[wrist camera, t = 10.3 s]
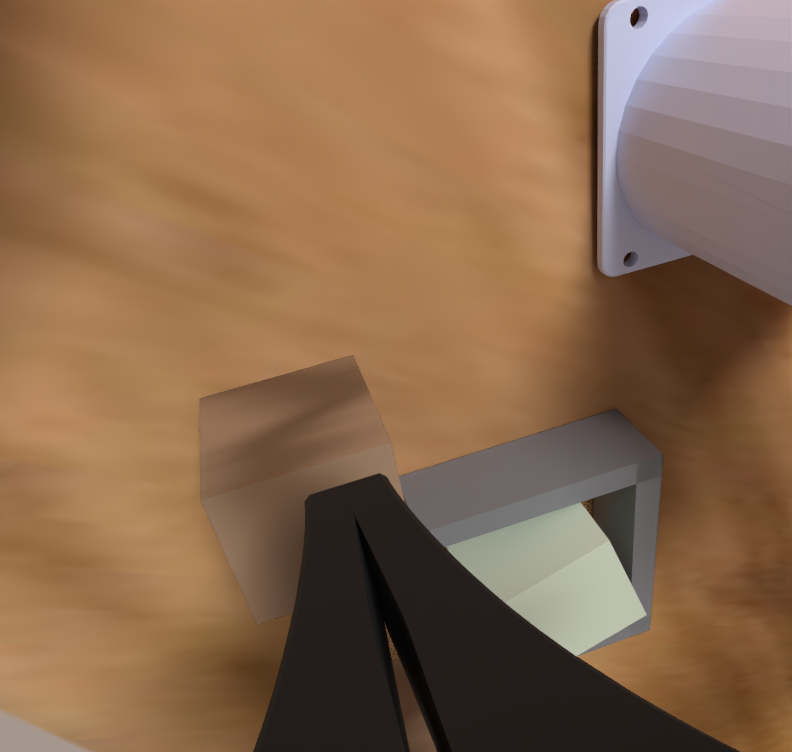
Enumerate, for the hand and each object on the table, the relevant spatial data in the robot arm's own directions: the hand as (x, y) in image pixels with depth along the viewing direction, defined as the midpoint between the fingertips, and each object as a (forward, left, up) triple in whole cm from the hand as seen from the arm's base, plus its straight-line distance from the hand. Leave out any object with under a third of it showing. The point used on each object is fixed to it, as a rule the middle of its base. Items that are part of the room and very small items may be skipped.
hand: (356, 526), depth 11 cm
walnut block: (+1, +5, -10) cm, 11 cm away
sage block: (-6, +12, -10) cm, 17 cm away
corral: (-7, +13, -10) cm, 18 cm away
